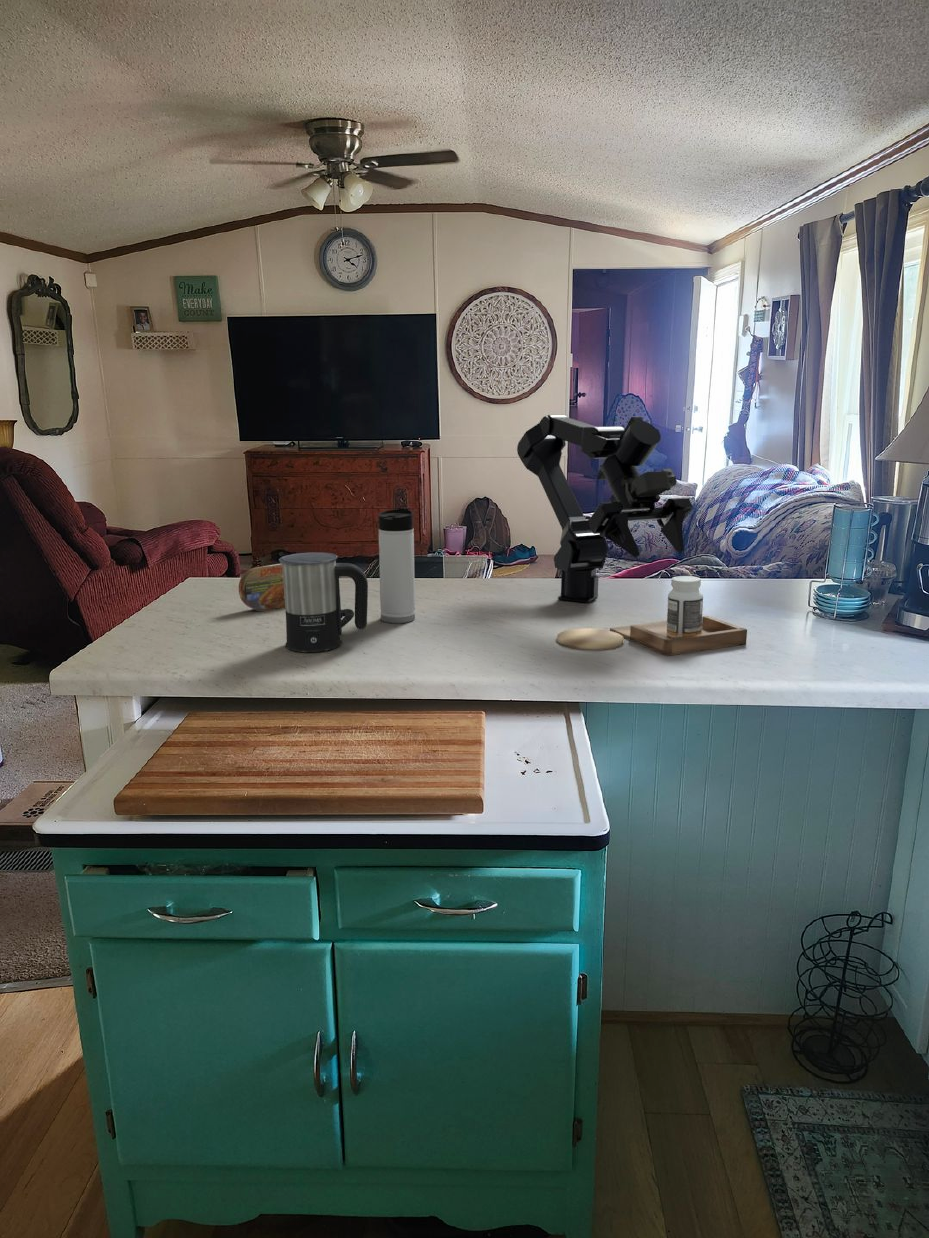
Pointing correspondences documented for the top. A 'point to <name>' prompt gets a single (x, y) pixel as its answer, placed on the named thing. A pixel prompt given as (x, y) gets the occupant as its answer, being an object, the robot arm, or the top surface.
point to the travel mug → (396, 566)
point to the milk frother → (319, 600)
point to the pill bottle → (684, 607)
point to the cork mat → (590, 639)
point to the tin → (263, 588)
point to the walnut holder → (659, 641)
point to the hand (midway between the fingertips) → (660, 554)
